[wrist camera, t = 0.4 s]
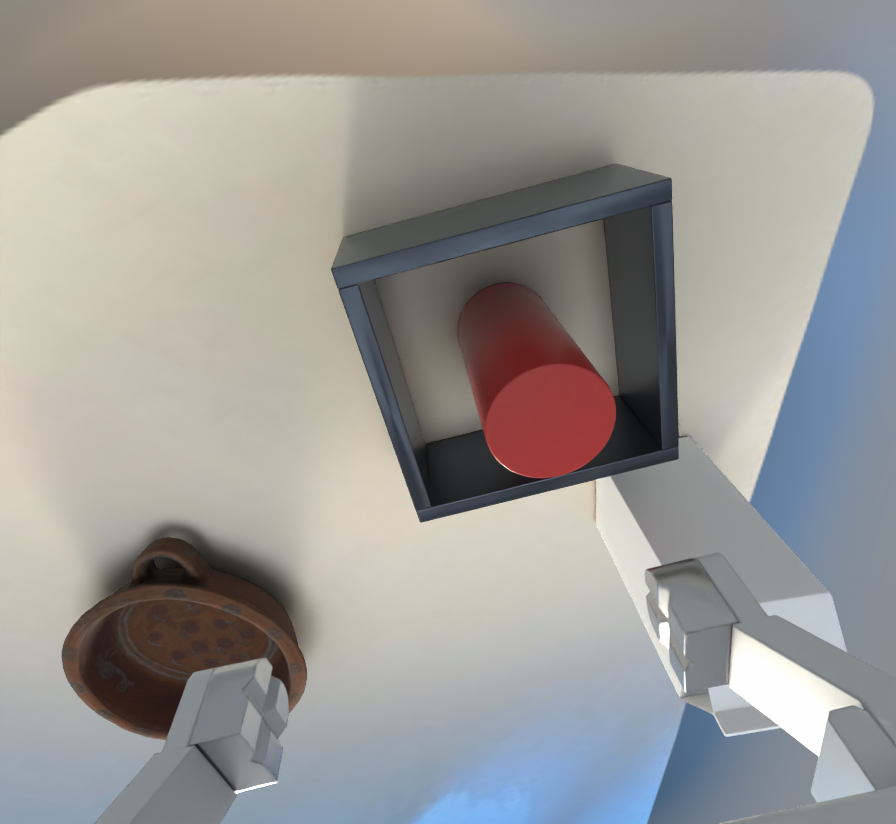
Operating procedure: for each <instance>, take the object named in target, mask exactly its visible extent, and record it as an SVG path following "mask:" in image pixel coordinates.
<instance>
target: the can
mask: <svg viewBox="0 0 896 824" xmlns="http://www.w3.org/2000/svg"><path fill="white" fill-rule="evenodd" d="M457 333H458V341H459V345H460V348H461V352H462V355H463V359H464V363H465V366H466V370H467V373H468V377H469V381H470V384H471V388H472V391H473V395H474V399H475V402H476V406H477V409H478V413H479V416H480V420H481V424H482V427H483V431H484V434H485V438H486V441H487V444H488V447H489V449H490V451H491V453H492V454H493V456H494V457H495V458H496V460H497V461H498V462H499V463H500V464H502V465H503V466H504V467H506V468H507V469H509V470H511V471H512V472H514V473H517V474H520V475H523V476H527V477H533V478H550V477H556V476H561V475H564V474H567V473H570V472H572V471H575V470H577V469H578V468H580V467H582V466H584V465H585V464H587V463H588V462H590V461H591V460H592V459H593V458H594V457H595V456H596V455H597V454H598V453H599V452H600V451H601V450H602V449H603V447H604V446H605V445H606V443H607V442H608V440H609V438H610V436H611V434H612V431H613V429H614V425H615V420H616V404H615V399H614V396H613V394H612V391H611V390H610V388H609V386H608V385H607V383H606V382H605V381H604V380H603V378H602V377H601V376H600V374H599V373H598V372H597V370H596V369H595V368H594V367H593V365H592V364H591V363H590V361H589V360H588V359H587V357H586V356H585V355H584V354H583V352H582V351H581V350H580V348H579V347H578V346H577V344H576V343H575V342H574V341H573V339H572V338H571V337H570V335H569V334H568V333H567V331H566V330H565V329H564V327H563V326H562V325H561V324H560V322H559V321H558V320H557V318H556V317H555V316H554V314H553V313H552V312H551V311H550V309H549V308H548V307H547V305H546V304H545V303H544V301H543V300H542V299H541V298H540V296H538V295H537V294H536V293H535V292H534V291H532V290H531V289H529V288H527V287H525V286H522V285H518V284H512V283H504V284H497V285H493V286H490V287H488V288H486V289H484V290H482V291H480V292H479V293H477V294H476V295H475V296H474V297H473V298H472V299H471V300H470V301H469V302H468V303H467V305H466V306H465V307H464V309H463V311H462V313H461V315H460V318H459V322H458V329H457Z"/></svg>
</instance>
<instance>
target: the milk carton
mask: <svg viewBox="0 0 896 824" xmlns="http://www.w3.org/2000/svg"><path fill="white" fill-rule="evenodd" d="M678 447H679V459H678V460H674V461H669V462H665V463H661V464H657V465H653V466H649V467H645V468H641V469H637V470H633V471H629V472H625V473H621V474H617V475H613V476H608V477H604V478H600V479H596V525H597V528H598V530H599V532H600V534H601V536H602V538H603V540H604V542H605V544H606V546H607V548H608V550H609V552H610V555H611V557H612V559H613V561H614V563H615V565H616V567H617V569H618V571H619V573H620V575H621V577H622V579H623V581H624V584H625V586H626V588H627V590H628V592H629V594H630V596H631V598H632V600H633V602H634V604H635V606H636V608H637V611H638V613H639V615H640V617H641V619H642V621H643V623H644V625H645V627H646V629H647V631H648V633H649V635H650V637H651V640H652V642H653V644H654V646H655V648H656V650H657V652H658V654H659V656H660V658H661V660H662V662H663V664H664V667H665V669H666V671H667V673H668V675H669V677H670V679H671V681H672V683H673V685H674V687H675V689H676V691H677V693H678V695H679V697H680V699H681V700H683V701H685V702H688V703H690V704H692V705H694V706H696V707H698V708H701V709H703V710H705V711H707V712H709V713H711V714H713V715H714V717H715V719H716V720H717V722H718V724H719V726H720V728H721V730H722V732H723V734H724V735H725V736H727V737H728V736H734V735H741V734H747V733H753V732H759V731H765V730H771V729H777V728H781V727H780V726H779V725H778V724H776V723H775V722H774V721H772V720H771V719H770V718H769V717H767V716H766V715H765V714H763V713H762V712H761V711H759V710H758V709H757V708H756V707H754V706H753V705H752V704H750V703H749V702H748V701H747V700H745V699H744V698H743V697H741V696H740V695H739V694H738V693H736V692H735V691H734V690H732V689H731V688H730V687H729V684H727V685H722V686H717V687H712V688H706V689H701V690H696V691H691V692H685V691H684V689H683V687H682V685H681V683H680V681H679V679H678V678H677V676H676V674H675V672H674V670H673V668H672V666H671V664H670V658H669V648H668V647H666V646H665V645H663V644H662V643H660V641H659V639H658V637H657V635H656V633H655V631H654V628H653V626H652V623H651V621H650V617H649V613H648V609H647V602H646V596H647V594H648V593H649V592H650V590H649V588H648V587H647V585H646V583H645V571H646V569H649V568H653V567H657V566H661V565H665V564H669V563H673V562H677V561H681V560H686V559H690V558H696V557H701V556H705V555H709V554H714V553H718V552H719V553H720V554H722V555H723V556H724V557H725V558H726V560H727V561H728V562H729V564H730V565H731V566H732V568H733V569H734V570H735V572H736V573H737V574H738V576H739V577H740V578H741V580H742V581H743V582H744V584H745V585H746V587H747V588H748V589H749V591H750V592H751V593H752V595H753V596H754V597H755V599H756V600H757V601H758V603H759V604H760V605H761V607H762V608H763V609H764V611H765V612H766V613H767V615H768V616H772V615H777V616H779V617H781V618H783V619H785V620H787V621H789V622H791V623H793V624H794V625H796V626H798V627H800V628H802V629H804V630H806V631H808V632H810V633H811V634H813V635H815V636H817V637H819V638H821V639H823V640H825V641H826V642H828V643H830V644H832V645H834V646H836V647H838V648H840V649H842V650H843V651H845V652H847V650H846V646H845V643H844V639H843V635H842V632H841V628H840V624H839V621H838V617H837V614H836V610H835V607H834V603H833V599H832V596H831V593H829V592H828V590H827V589H826V588H825V587H824V586H823V585H822V584H821V583H820V581H819V580H818V579H817V578H816V577H815V576H814V575H813V574H812V573H811V572H810V570H808V568H807V567H806V566H805V565H804V564H803V562H802V561H801V560H800V559H799V558H798V557H797V556H796V555H795V554H794V553H793V551H792V550H791V549H790V548H789V547H788V546H787V545H786V543H785V542H784V541H783V540H782V539H781V538H780V537H779V536H778V535H777V533H776V532H775V531H774V530H773V529H772V528H771V527H770V526H769V525H768V523H767V522H766V521H765V520H764V519H763V518H762V517H761V516H760V515H759V513H758V512H757V511H756V510H755V509H754V508H753V507H752V505H751V504H750V503H749V502H748V501H747V500H746V499H745V498H744V496H743V495H742V494H741V493H740V492H739V491H738V490H737V489H736V487H735V486H734V485H733V484H732V483H731V482H730V481H729V480H728V478H727V477H726V476H725V475H724V474H723V473H722V472H721V471H720V470H719V468H718V467H717V466H716V465H715V464H714V463H713V462H712V461H711V459H710V458H709V457H708V456H707V455H706V454H705V453H704V452H703V450H702V449H701V448H700V447H699V446H698V445H697V444H696V443H695V442H694V440H693V439H692V438H690V437H682V438H679V446H678Z"/></svg>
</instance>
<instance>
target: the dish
mask: <svg viewBox="0 0 896 824" xmlns="http://www.w3.org/2000/svg"><path fill="white" fill-rule="evenodd" d="M156 557H167V558H170V559H173V560H175V561H176V562H178V563H180V564H181V565H182V566H183V567H184V568H170V569H160V568H158V567H156V565H155V563H154V560H153V559H154V558H156ZM260 658H267V660H268V661H269V662H270V664H271V665H272V667H273V668H272V673H271V675H272V676H274V677H276V678H278V679H281V681H282V682H283V684H284V686H285V688H286V691H287V695H288V703H289V713H290V712H291V711H292V709H293V708H294V707H295V706H296V704H297V703H298V702H299V700H300V698H301V696H302V695H303V693H304V690H305V685H306V680H307V668H306V664H305V660H304V657H303V654H302V652H301V650H300V649H299V647H298V643H297V638H296V635H295V631H294V628H293V625H292V623H291V621H290V619H289V617H288V615H287V613H286V611H285V609H284V608H283V607H282V606H281V604H280V603H279V602H278V601H277V600H276V599H275V598H273V597H272V596H271V595H269V594H268V593H266V592H265V591H263V590H262V589H260V588H259V587H257V586H255V585H253V584H251V583H250V582H247V581H245V580H243V579H240V578H238V577H235V576H232V575H229V574H226V573H223V572H219V571H216V570H212V569H211V568H210V567H209V566H208V564H207V563H206V561H205V560H204V558H203V557H202V555H201V554H200V553H199V552H198V551H197V549H196V548H195V547H193V546H192V545H191V544H189V543H188V542H186V541H184V540H181V539H178V538H170V537H168V538H162V539H158V540H156V541H154V542H153V543H151V544H150V545H149V546H148V547H147V548H146V549H145V550H144V551H143V552H142V553H141V554H140V555H139V556H138V557H137V559H136V560H135V562H134V565H133V568H132V580H131V583H129V584H127V585H126V586H124V587H123V588H121V589H119V590H118V591H117V592H116V593H114V594H113V595H111V596H109V597H107V598H105V599H104V600H102V601H100V602H99V603H98V604H96V605H95V606H94V607H92V608H91V609H90V610H88V611H87V612H86V613H84V614H83V615H82V616H81V617H80V619H79V620H78V621H77V622H76V623H75V624H74V625H73V627H72V628H71V630H70V632H69V634H68V635H67V637H66V639H65V641H64V645H63V649H62V662H63V669H64V672H65V675H66V678H67V680H68V682H69V683H70V685H71V687H72V688H73V690H74V691H75V692H76V694H77V695H78V696H79V697H80V699H81V700H82V701H83V702H84V703H85V704H86V705H87V706H89V707H90V708H91V709H92V710H94V711H95V712H96V713H97V714H98V715H100V716H101V717H103V718H105V719H107V720H108V721H110V722H112V723H114V724H116V725H117V726H119V727H121V728H123V729H125V730H127V731H130V732H133V733H136V734H139V735H142V736H145V737H150V738H155V739H162V740H166V739H167V736H168V733H169V731H170V728H171V725H172V722H173V720H174V717H175V714H176V711H177V708H178V706H179V703H180V700H181V697H182V695H183V692H184V689H185V686H186V684H187V681H188V679H189V678H190V677H191V675H192V674H193V673H194V672H197V671H202V670H207V669H211V668H216V667H220V666H225V665H230V664H235V663H240V662H245V661H250V660H255V659H260Z"/></svg>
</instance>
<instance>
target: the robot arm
mask: <svg viewBox="0 0 896 824" xmlns="http://www.w3.org/2000/svg"><path fill="white" fill-rule="evenodd" d="M645 583H646V585H647V587H648V588H649V590H650V592H649V593H648V594H647V596H646V602H647V609H648V613H649V617H650V621H651V623H652V626H653V628H654V631H655V633H656V635H657V637H658V639H659V641H660V643H662V644H663V645H665V646H666V647H668V648H669V658H670V664H671V666H672V668H673V670H674V672H675V674H676V676H677V678H678V679H679V681H680V683H681V685H682V687H683V689H684V691H685V692H691V691H696V690H701V689H706V688H712V687H717V686H722V685H727V684H729V687H730V688H731V689H732V690H734V691H735V692H736V693H738V694H739V695H740V696H741V697H743V698H744V699H745V700H747V701H748V702H749V703H750V704H752V705H753V706H754V707H756V708H757V709H758V710H759V711H761V712H762V713H763V714H765V715H766V716H767V717H769V718H770V719H771V720H772V721H774V722H775V723H776V724H778V725H779V726H780V727H781V728H783V729H784V730H785V731H787V732H788V733H789V734H790V735H792V736H793V737H794V738H796V739H797V740H798V741H799V742H801V743H802V744H804V745H805V746H806V747H807V748H808V749H810V750H811V751H812V752H814V753H815V754H816V755H818V756H819V758H818V762H817V766H816V771H815V775H814V779H813V784H812V788H811V793H812V795H813V796H814V798H815V800H816V801H817V803H813V804H808V805H803V806H799V807H794V808H789V809H785V810H780V811H775V812H770V813H765V814H761V815H756V816H751V817H746V818H742V819H737V820H732V821H727V822H723V823H718V824H896V678H894V677H892V676H890V675H888V674H887V673H885V672H883V671H881V670H879V669H877V668H875V667H873V666H872V665H869V664H868V663H866V662H864V661H862V660H860V659H858V658H856V657H855V656H853V655H851V654H849V653H847V652H845V651H843V650H842V649H840V648H838V647H836V646H834V645H832V644H830V643H828V642H826V641H825V640H823V639H821V638H819V637H817V636H815V635H813V634H811V633H810V632H808V631H806V630H804V629H802V628H800V627H798V626H796V625H794V624H793V623H791V622H789V621H787V620H785V619H783V618H781V617H779V616H777V615H772V616H768V615H767V613H766V612H765V611H764V609H763V608H762V607H761V605H760V604H759V603H758V601H757V600H756V599H755V597H754V596H753V595H752V593H751V592H750V591H749V589H748V588H747V587H746V585H745V584H744V582H743V581H742V580H741V578H740V577H739V576H738V574H737V573H736V572H735V570H734V569H733V568H732V566H731V565H730V564H729V562H728V561H727V560H726V558H725V557H724V556H723V555H722V554H720V553H719V552H718V553H714V554H709V555H705V556H701V557H696V558H690V559H686V560H681V561H677V562H673V563H669V564H665V565H661V566H657V567H653V568H649V569H646V571H645ZM272 668H273V667H272V665H271V664H270V662H269V661H268V660H267V658H260V659H255V660H250V661H245V662H240V663H235V664H230V665H225V666H220V667H216V668H211V669H207V670H202V671H197V672H194V673H193V674H192V675H191V677H190V678H189V679H188V681H187V684H186V686H185V689H184V692H183V695H182V697H181V700H180V703H179V706H178V708H177V711H176V714H175V717H174V720H173V722H172V725H171V728H170V731H169V733H168V736H167V739H166V742H165V745H164V747H163V750H162V752H161V753H157V754H154V756H153V757H152V758H151V759H150V760H149V761H148V762H147V764H146V765H145V766H144V767H143V768H142V769H141V770H140V772H139V773H138V774H137V775H136V776H135V777H134V778H133V780H132V781H131V782H130V783H129V784H128V785H127V786H126V788H125V789H124V790H123V791H122V792H121V793H120V794H119V796H118V797H117V798H116V799H115V800H114V801H113V802H112V804H111V805H110V806H109V807H108V808H107V809H106V810H105V812H104V813H103V814H102V815H101V816H100V817H99V819H98V820H97V821H96V822H95V823H94V824H220V823H221V821H222V819H223V818H224V816H225V814H226V813H227V811H228V809H229V808H230V806H231V805H232V803H233V801H234V800H235V798H236V796H237V794H236V793H237V792H241V791H245V790H249V789H253V788H257V787H261V786H265V785H269V784H273V783H277V780H278V774H279V768H280V762H281V757H282V751H283V747H282V745H281V744H280V742H279V740H278V737H279V736H280V735H281V733H282V732H283V731H284V729H285V728H286V726H287V721H288V715H289V703H288V695H287V691H286V688H285V686H284V684H283V682H282V681H281V679H278V678H276V677H274V676H272V675H271V673H272Z"/></svg>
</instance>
